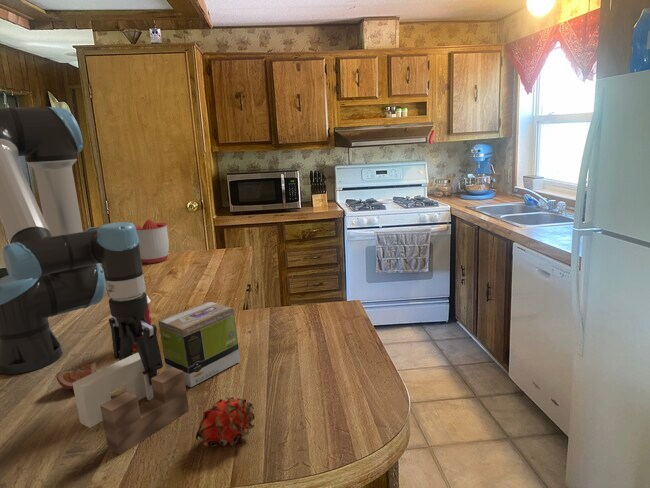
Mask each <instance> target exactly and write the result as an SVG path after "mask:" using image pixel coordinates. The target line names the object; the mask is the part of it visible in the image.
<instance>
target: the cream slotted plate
mask: <svg viewBox="0 0 650 488" xmlns="http://www.w3.org/2000/svg"><path fill="white" fill-rule="evenodd" d="M144 371H145V369H144V366H143V363H142V361H141V358H140V355H139V352H138V351H137V352H136V353H132V355H131V356H129V357H127V358H125V359H123V360H120V361H119V360H118V361H116V362H114V363H112V364H110V365H107V366H106V367H104V368H101V369H100V370H96V372H95V373H92V374H90V375H88V376H86V377H84V378H82V379H80V380H77V381H75V382H73V388H74V389H73V393H74V398H75V403H76V404H75V405H76V408H77V413H78V419H79V424H82V425H83V426H85V427H87V428H90V429H91V428H93V427H94V426H96V425H99V424H100V423H102V422H103V418H102V413H101V407H100V405H102V404H104V403H106V402H108V401H110V400H112V397H111V393H113V392H115V391H116V390H119V389H120V388H122V387H124V386H125V392H128V393H130V394H133V395H135V396H137V397H138V402H139V401H141V400H142V399H145V398H147V395H146V389H145V383H144V377H143V373H142V372H144Z"/></svg>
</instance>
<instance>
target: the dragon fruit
mask: <svg viewBox="0 0 650 488" xmlns="http://www.w3.org/2000/svg"><path fill="white" fill-rule="evenodd" d="M254 409H255V407H254V404H253V403H251V402H250V401H247V399H245V398H239V397H237V398H236V399H235V398H234V397H232V396H227V397H226V400H225V399H222V398H221V399H219V400H218V401H215V402H214V403H213V404H212V407H210V408H208V409H206V410H205V411H204V412H203V415H202V420H201V422H200V424H199V426H198V429H197V432H196V434H195V440H196V441H198V440H199V439H202V440H204V441H203V442H202V443H203V446H204V447H216V446H217V445H218V444H219V445H220V446H222V447H225V446H226V445H227V444H228V443H229V445H230V446H233V445H235V444H236V443H238V442H239V438H240V439H241V438H242V436H243V437H244V436H245V437H246V436H247V435H249V433H250V432H249V431H250V430H251V429H253V428H255V424H252V422H253V421H254V420H255V417H256V416H255V414H254ZM245 430H246V431H245Z"/></svg>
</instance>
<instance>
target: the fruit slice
mask: <svg viewBox="0 0 650 488" xmlns="http://www.w3.org/2000/svg"><path fill="white" fill-rule="evenodd" d="M97 369H98V367H97V362H93V363H89V364H86V365H82V366H81V367H80V368H78V369H77V368H72V369H68V370H64V371H61V372H60V371H59V372H57V373H56V374H55V375H56V380H57V382H58V384H59V385H60V386H61V387H62V388H65V389H68V390H74V388H73V382H75V381H77V380H80V379H82V378H84V377H86V376H88V375H90V374H92V373H95V372H97Z"/></svg>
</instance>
